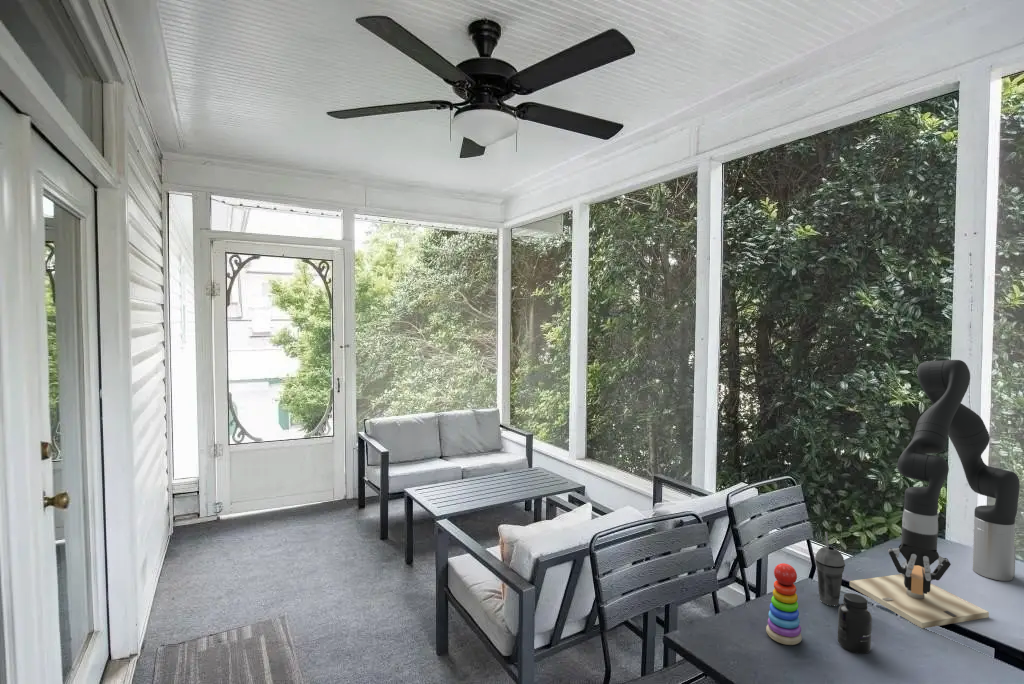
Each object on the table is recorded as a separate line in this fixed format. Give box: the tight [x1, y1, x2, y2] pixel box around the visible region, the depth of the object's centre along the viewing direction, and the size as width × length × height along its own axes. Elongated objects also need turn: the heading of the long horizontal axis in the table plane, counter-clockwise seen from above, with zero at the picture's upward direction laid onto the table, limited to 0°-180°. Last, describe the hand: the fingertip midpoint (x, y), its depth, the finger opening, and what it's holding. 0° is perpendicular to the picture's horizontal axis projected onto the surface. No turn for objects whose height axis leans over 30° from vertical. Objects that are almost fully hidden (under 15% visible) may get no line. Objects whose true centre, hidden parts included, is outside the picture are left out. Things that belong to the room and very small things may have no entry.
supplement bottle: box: [837, 592, 873, 655], centre depth 127 cm, size 7×7×12 cm
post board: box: [849, 573, 990, 629], centre depth 147 cm, size 22×22×6 cm
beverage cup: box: [814, 531, 846, 607], centre depth 147 cm, size 7×7×20 cm
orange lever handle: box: [901, 561, 932, 595], centre depth 144 cm, size 14×8×4 cm, turn 144°
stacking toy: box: [765, 562, 803, 646], centre depth 131 cm, size 8×8×19 cm
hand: (916, 590), depth 140 cm, fingers closed on orange lever handle, 2 cm apart
